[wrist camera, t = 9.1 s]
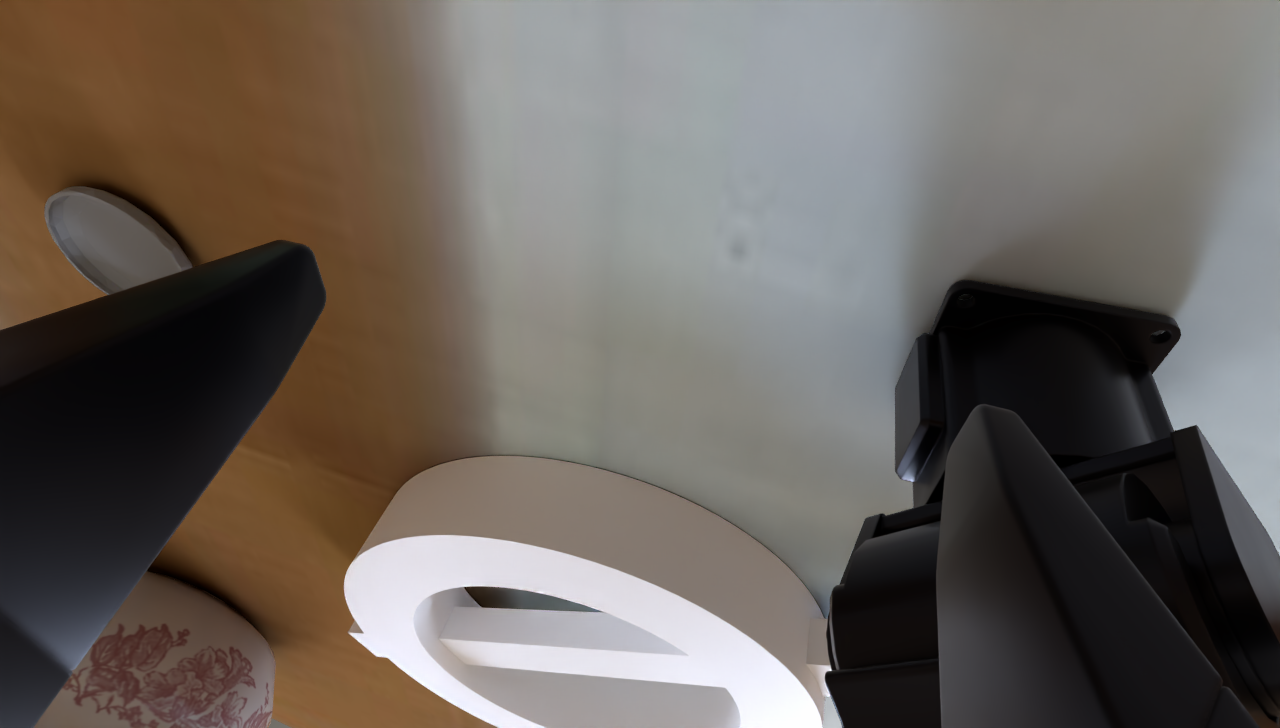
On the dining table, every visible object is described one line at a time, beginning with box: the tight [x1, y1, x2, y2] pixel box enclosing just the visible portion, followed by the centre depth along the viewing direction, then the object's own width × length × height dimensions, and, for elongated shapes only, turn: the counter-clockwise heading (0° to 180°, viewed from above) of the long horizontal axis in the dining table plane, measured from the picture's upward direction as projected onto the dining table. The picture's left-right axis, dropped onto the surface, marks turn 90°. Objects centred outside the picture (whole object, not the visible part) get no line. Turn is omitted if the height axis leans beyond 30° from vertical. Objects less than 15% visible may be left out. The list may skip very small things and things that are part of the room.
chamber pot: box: [34, 571, 276, 728], centre depth 58 cm, size 28×28×21 cm
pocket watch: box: [45, 186, 193, 295], centre depth 28 cm, size 8×8×10 cm
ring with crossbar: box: [344, 456, 831, 728], centre depth 41 cm, size 28×28×5 cm
